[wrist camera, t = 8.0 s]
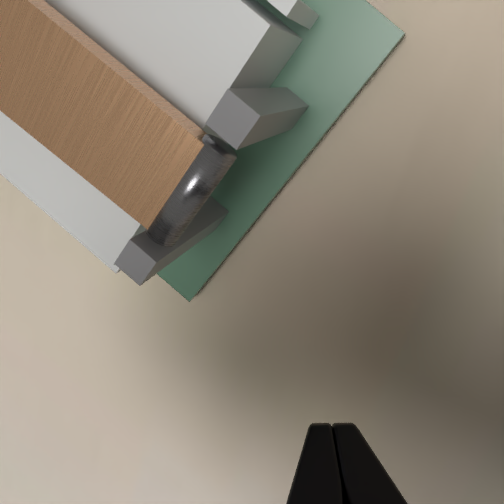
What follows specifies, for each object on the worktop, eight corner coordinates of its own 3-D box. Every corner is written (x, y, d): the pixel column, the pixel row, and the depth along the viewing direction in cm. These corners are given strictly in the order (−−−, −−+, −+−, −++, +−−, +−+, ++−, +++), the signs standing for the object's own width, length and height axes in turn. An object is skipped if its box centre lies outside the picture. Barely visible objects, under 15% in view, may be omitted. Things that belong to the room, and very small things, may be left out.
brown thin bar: (229, 162, 11) (-140, -140, 11) (166, 251, 13) (-164, -15, 13) (241, 155, 12) (-101, -125, 12) (180, 239, 14) (-127, -10, 14)
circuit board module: (405, 35, 15) (401, 0, 9) (196, 294, 21) (105, 384, 15) (48, -261, 15) (-199, -497, 9) (-59, 74, 21) (-256, 69, 15)
